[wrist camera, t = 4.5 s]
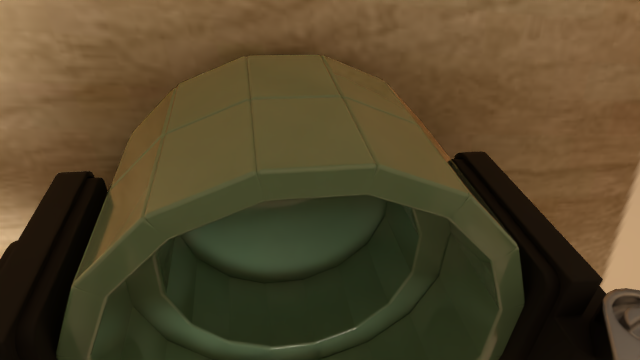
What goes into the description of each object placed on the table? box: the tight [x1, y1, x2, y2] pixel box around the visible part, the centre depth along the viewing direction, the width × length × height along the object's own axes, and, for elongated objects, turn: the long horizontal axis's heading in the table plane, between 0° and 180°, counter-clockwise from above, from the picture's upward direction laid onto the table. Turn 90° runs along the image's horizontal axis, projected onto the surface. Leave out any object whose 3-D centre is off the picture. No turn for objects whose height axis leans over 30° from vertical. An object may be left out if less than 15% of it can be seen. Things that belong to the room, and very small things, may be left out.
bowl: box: [56, 55, 525, 360], centre depth 9 cm, size 7×7×4 cm
